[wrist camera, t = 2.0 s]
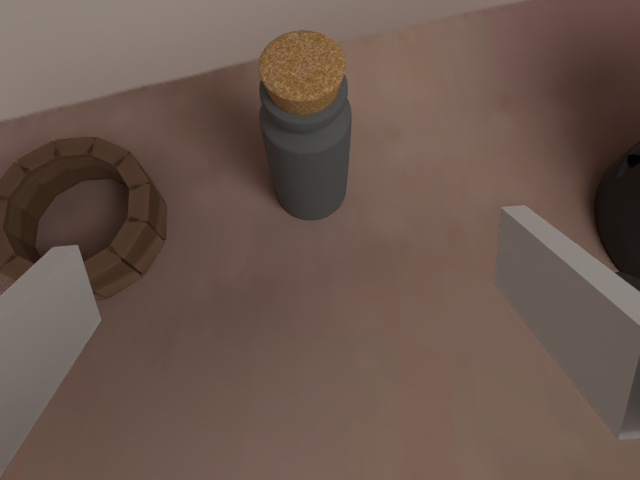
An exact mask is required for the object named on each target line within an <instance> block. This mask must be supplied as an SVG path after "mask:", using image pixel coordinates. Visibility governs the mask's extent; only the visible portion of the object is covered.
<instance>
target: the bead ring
mask: <svg viewBox="0 0 640 480" xmlns="http://www.w3.org/2000/svg"><path fill="white" fill-rule="evenodd" d="M17 162H18V164H17V163H15V162H14V163H13V165H12V166H11V167H10V168H9V170H8V171H7V172H6V174H5V175H4V176H3V177H2V179H1V180H0V272H1V273H3V274H5V275H7V276H9V277H11V278H13V279H15V280H18V279H19V278H20V277H21V276H22V275H23V274H24V273H25V272H26V271H28V270H29V269H30V268H31V267H32V266H33V265H34V264H35V263H36V262H37V261H38V260H39V259H40V256H39V254H38V253H37V251H36V249H35V242H36V235H37V228H38V220H39V218H40V217H41V216H42V214H43V213H44V212H45V210H46V209H47V207H48V206H49V205H50V203H51V202H52V201H53V199H54V198H55V196H56V195H58V194H60V193H62V192H63V191H65V190H67V189H69V188H70V187H72V186H74V185H76V184H78V183H79V182H81V181H85V180H98V179H110V178H111V179H114V180H116V181H118V182H120V183H122V184H125V185H127V186H128V188H129V202H128V217H127V220H126V221H125V223H124V225H123V226H122V228H121V229H120V231H119V232H118V234H117V235H116V237H115V238H114V240H113V241H112V243H111V244H110V246H109V247H108V248H106V249H104V250H103V251H101V252H99V253H98V254H96V255H94V256H93V257H91V258H89V259H88V260H86V261H84V266H85V269H86V272H87V275H88V279H89V282H90V285H91V288H92V291H93V295H94V298H95V300H103V299H105V297H106V298H109V297H111V296H113V295H114V294H116V293H117V292H119V291H121V290H122V289H124V288H125V287H127V286H129V285H130V284H132V283H134V282H135V281H137V280H138V279H140V278H142V275H141V273H142V274H144V275H145V273H146V272H147V270H148V269H149V267H150V265H151V264H152V262H153V261H154V259H155V257H156V256H157V254H158V252H159V251H160V249H161V248H162V246H163V244H164V243H165V242H164V241H163V240H166V212H167V206H166V203H165V201H164V200H163V198H162V197H161V195H160V193H159V192H158V190H157V189H156V187H155V186H154V184H153V182H152V181H151V179H150V178H149V176H148V175H147V174H146V172H145V171H144V170H143V168H142V167H141V166H140V164H139V163H138V162H137V160H136V159H135V158H134V156H133V155H132V154H131V153H130V152H129V151H127V150H125V149H123V148H120V147H118V146H116V145H114V144H111V143H109V142H107V141H104V140H102V139H100V138H95V137H86V138H74V139H61V140H56V141H55V142H54V141H51V142H50V143H48V144H46V145H44V146H42V147H40V148H38V149H37V150H35V151H33V152H31V153H29V154H27V155H26V156H24V157H22V158H20V159H18V160H17Z"/></svg>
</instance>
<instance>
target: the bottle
mask: <svg viewBox="0 0 640 480" xmlns="http://www.w3.org/2000/svg"><path fill="white" fill-rule="evenodd" d="M345 67H346V64H345V58H344V55H343V52H342V50H341V49H340V47H339V46H338V45H337V44H336V43H335V42H334V41H333V40H331V39H330V38H328V37H327V36H325V35H322V34H320V33H317V32H312V31H293V32H289V33H286V34H283V35H281V36H279V37H277V38H276V39H274V40H273V41H272V42H270V43H269V44H268V45H267V47H266V48H265V49H264V51H263V53H262V54H261V57H260V60H259V74H260V78H261V82H260V98H261V102H262V106H261V109H260V124H261V129H262V134H263V139H264V144H265V148H266V152H267V157H268V161H269V165H270V170H271V174H272V178H273V182H274V186H275V190H276V194H277V197H278V200H279V202H280V204H281V206H282V207H283V208H284V209H285V210H286V211H287V212H288V213H289V214H291V215H293V216H294V217H297V218H300V219H304V220H318V219H322V218H324V217H327V216H329V215H330V214H332V213H333V212H334V211H336V210H337V209H338V208H339V206H340V205H341V203H342V201H343V199H344V196H345V192H346V184H347V174H348V162H349V149H350V136H351V115H352V114H351V107H350V104H349V101H348V99H347V93H348V85H347V79H346V76H345Z"/></svg>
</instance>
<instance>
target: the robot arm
mask: <svg viewBox="0 0 640 480" xmlns="http://www.w3.org/2000/svg"><path fill="white" fill-rule="evenodd" d="M595 211H596V221H597V226H598V230H599V233H600V236H601V239H602V241H603V244H604V246H605V248H606V250H607V252H608V253H609V255H610V257H611V258H612V260H613V261H614V263H615V264H616V266H617V267H618V268H619V269H620V271H621V272H616V273H614V272H613V271H612V270H610V269H609V268H608V267H606V266H605V265H604V264H602V263H601V262H600V261H598V260H597V259H596V258H594V257H593V256H592V255H590V254H589V253H588V252H586V251H585V250H584V249H582V248H581V247H580V246H578V245H577V244H576V243H574V242H573V241H572V240H570V239H569V238H568V237H566V236H565V235H564V234H562V233H561V232H560V231H558V230H557V229H556V228H555V227H553V226H552V225H551V224H549V223H548V222H547V221H545V220H544V219H543V218H541V217H540V216H539V215H537V214H536V213H535V212H533V211H532V210H531V209H529V208H528V207H527V206H525V205H521V206H509V207H501V210H500V221H499V232H498V243H497V254H496V265H495V276H494V285H495V286H496V287H497V289H498V290H499V291H500V292H501V294H502V295H503V296H504V297H505V299H506V300H507V301H508V302H509V304H510V305H511V306H512V307H513V309H514V310H515V311H516V312H517V314H518V315H519V316H520V317H521V319H522V320H523V321H524V323H525V324H526V325H527V326H528V328H529V329H530V330H531V331H532V333H533V334H534V335H535V336H536V338H537V339H538V340H539V341H540V343H541V344H542V345H543V346H544V348H545V349H546V350H547V351H548V353H549V354H550V355H551V356H552V358H553V359H554V360H555V361H556V363H557V364H558V365H559V366H560V368H561V369H562V370H563V371H564V373H565V374H566V375H567V376H568V378H569V379H570V380H571V382H572V383H573V384H574V385H575V387H576V388H577V389H578V390H579V392H580V393H581V394H582V395H583V397H584V398H585V399H586V400H587V402H588V403H589V404H590V405H591V407H592V408H593V409H594V410H595V412H596V413H597V414H598V415H599V417H600V418H601V419H602V420H603V422H604V423H605V424H606V425H607V427H608V428H609V429H610V430H611V432H612V433H613V434H614V435H615V437H616V438H617V439H618V440H623V439H633V438H640V142H638V143H637V144H635V145H634V146H633V147H631V148H630V149H629V150H628V151H627V152H625V153H624V154H623V155H622V156H621V157H620V158H619V159H618V160H616V161H615V162H614V163H613V164H612V165H611V167H610V168H609V169H608V170H607V172H606V173H605V175H604V176H603V178H602V180H601V182H600V185H599V188H598V191H597V196H596V205H595ZM100 322H101V317H100V314H99V311H98V308H97V304H96V301H95V298H94V295H93V291H92V288H91V285H90V282H89V279H88V275H87V272H86V269H85V266H84V262H83V259H82V256H81V253H80V250H79V246H78V245H70V246H59V247H52V248H51V249H50V250H49V251H48V252H47V253H46V254H45V255H44V256H43V257H42V258H40V259H39V260H38V261H37V262H36V263H35V264H34V265H33V266H32V267H31V268H30V269H29V270H28V271H26V272H25V273H24V274H23V275H22V276H21V277H20V278H19V279H18V280H17V281H16V282H15V283H13V284H12V285H11V286H10V287H9V288H8V289H7V290H6V291H5V292H4V293H3V294H2V295H1V296H0V478H1V476H2V475H3V473H4V471H5V470H6V468H7V467H8V465H9V464H10V462H11V461H12V459H13V457H14V456H15V454H16V453H17V451H18V450H19V448H20V447H21V445H22V443H23V442H24V440H25V439H26V437H27V436H28V434H29V433H30V431H31V429H32V428H33V426H34V425H35V423H36V422H37V420H38V419H39V417H40V415H41V414H42V412H43V411H44V409H45V408H46V406H47V404H48V403H49V401H50V400H51V398H52V397H53V395H54V394H55V392H56V390H57V389H58V387H59V386H60V384H61V383H62V381H63V380H64V378H65V376H66V375H67V373H68V372H69V370H70V369H71V367H72V366H73V364H74V362H75V361H76V359H77V358H78V356H79V355H80V353H81V351H82V350H83V348H84V347H85V345H86V344H87V342H88V341H89V339H90V337H91V336H92V334H93V333H94V331H95V330H96V328H97V327H98V325H99V323H100Z"/></svg>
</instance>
